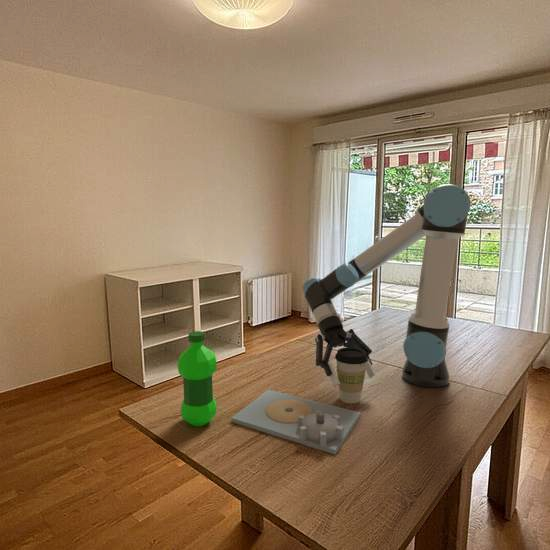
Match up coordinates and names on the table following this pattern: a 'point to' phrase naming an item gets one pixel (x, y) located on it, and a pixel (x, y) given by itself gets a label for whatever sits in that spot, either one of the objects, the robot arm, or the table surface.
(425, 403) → the table surface
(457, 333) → the table surface
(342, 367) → the coffee cup
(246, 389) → the table surface
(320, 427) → the gear board
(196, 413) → the plastic bottle
